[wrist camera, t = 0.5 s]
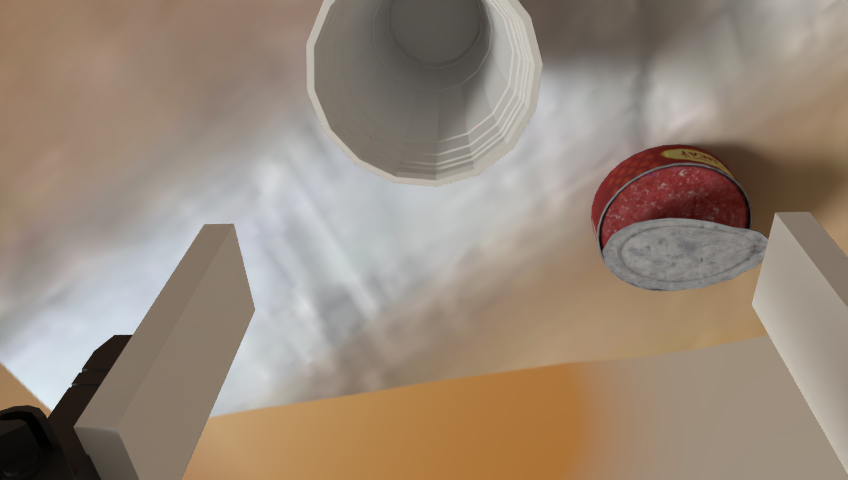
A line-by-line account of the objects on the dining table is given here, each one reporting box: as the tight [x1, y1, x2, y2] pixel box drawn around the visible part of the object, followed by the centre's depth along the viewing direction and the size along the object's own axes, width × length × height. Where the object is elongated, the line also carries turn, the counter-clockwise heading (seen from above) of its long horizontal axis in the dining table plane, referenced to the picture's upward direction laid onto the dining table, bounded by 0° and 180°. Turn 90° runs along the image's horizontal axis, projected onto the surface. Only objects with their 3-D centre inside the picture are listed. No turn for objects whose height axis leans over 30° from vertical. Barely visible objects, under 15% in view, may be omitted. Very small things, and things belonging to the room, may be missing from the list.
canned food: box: [591, 145, 768, 291], centre depth 44 cm, size 11×10×10 cm
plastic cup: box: [306, 0, 543, 187], centre depth 35 cm, size 11×11×12 cm
